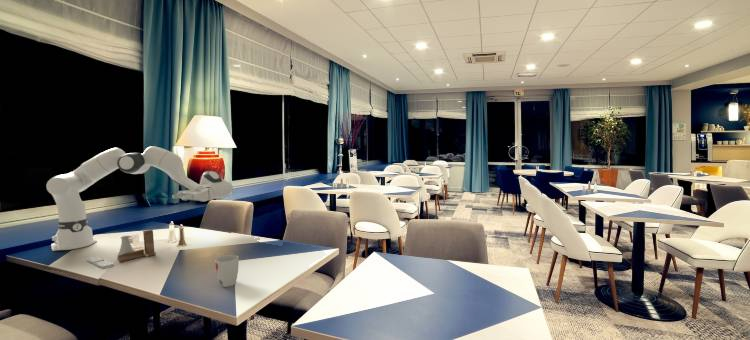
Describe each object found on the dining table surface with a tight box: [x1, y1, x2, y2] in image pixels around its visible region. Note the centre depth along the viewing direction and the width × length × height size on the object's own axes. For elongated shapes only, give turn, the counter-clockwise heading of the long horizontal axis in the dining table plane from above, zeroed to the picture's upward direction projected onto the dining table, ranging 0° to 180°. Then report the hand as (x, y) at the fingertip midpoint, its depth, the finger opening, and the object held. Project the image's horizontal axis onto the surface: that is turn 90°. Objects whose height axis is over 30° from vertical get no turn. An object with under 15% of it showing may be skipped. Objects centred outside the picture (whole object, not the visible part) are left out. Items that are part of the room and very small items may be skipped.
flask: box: [116, 235, 134, 260], centre depth 170 cm, size 7×7×10 cm
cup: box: [214, 254, 240, 288], centre depth 134 cm, size 8×8×10 cm
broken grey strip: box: [85, 255, 114, 269], centre depth 162 cm, size 20×4×1 cm, turn 55°
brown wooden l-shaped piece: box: [117, 229, 157, 263], centre depth 172 cm, size 20×14×12 cm
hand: (177, 197), depth 181 cm, fingers open, 8 cm apart
